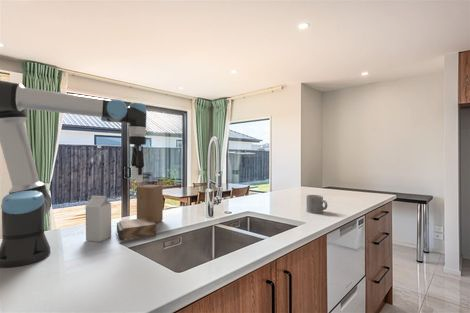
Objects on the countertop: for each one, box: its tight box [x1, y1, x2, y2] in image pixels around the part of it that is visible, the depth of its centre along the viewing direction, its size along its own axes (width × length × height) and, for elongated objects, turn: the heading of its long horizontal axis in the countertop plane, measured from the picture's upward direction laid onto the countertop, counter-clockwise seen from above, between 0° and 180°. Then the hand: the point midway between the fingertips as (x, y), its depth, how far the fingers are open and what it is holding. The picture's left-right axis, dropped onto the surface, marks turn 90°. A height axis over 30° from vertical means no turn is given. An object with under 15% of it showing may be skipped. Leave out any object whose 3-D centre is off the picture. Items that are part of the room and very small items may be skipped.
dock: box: [116, 217, 157, 241], centre depth 121 cm, size 15×14×5 cm
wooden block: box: [136, 184, 164, 224], centre depth 139 cm, size 10×10×20 cm
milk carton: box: [85, 195, 112, 243], centre depth 113 cm, size 7×7×19 cm
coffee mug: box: [306, 194, 328, 214], centre depth 163 cm, size 13×10×10 cm
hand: (136, 180), depth 123 cm, fingers open, 13 cm apart
